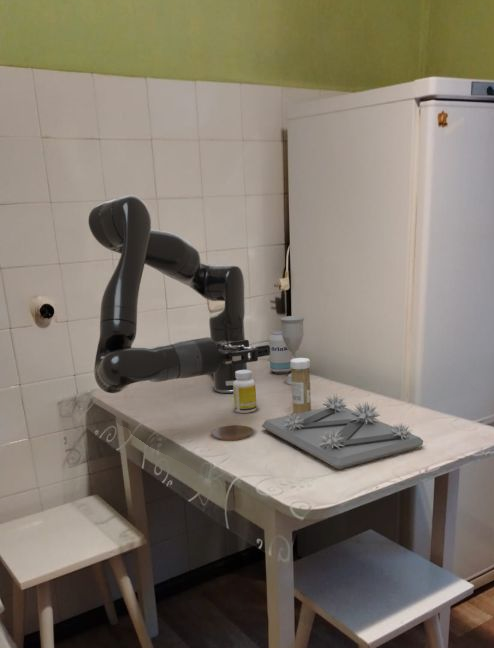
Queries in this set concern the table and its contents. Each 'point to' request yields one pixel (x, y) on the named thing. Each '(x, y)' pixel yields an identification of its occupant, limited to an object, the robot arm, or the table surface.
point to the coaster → (232, 432)
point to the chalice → (292, 335)
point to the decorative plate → (343, 434)
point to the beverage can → (279, 354)
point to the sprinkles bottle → (300, 385)
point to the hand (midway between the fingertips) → (258, 347)
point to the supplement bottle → (244, 392)
